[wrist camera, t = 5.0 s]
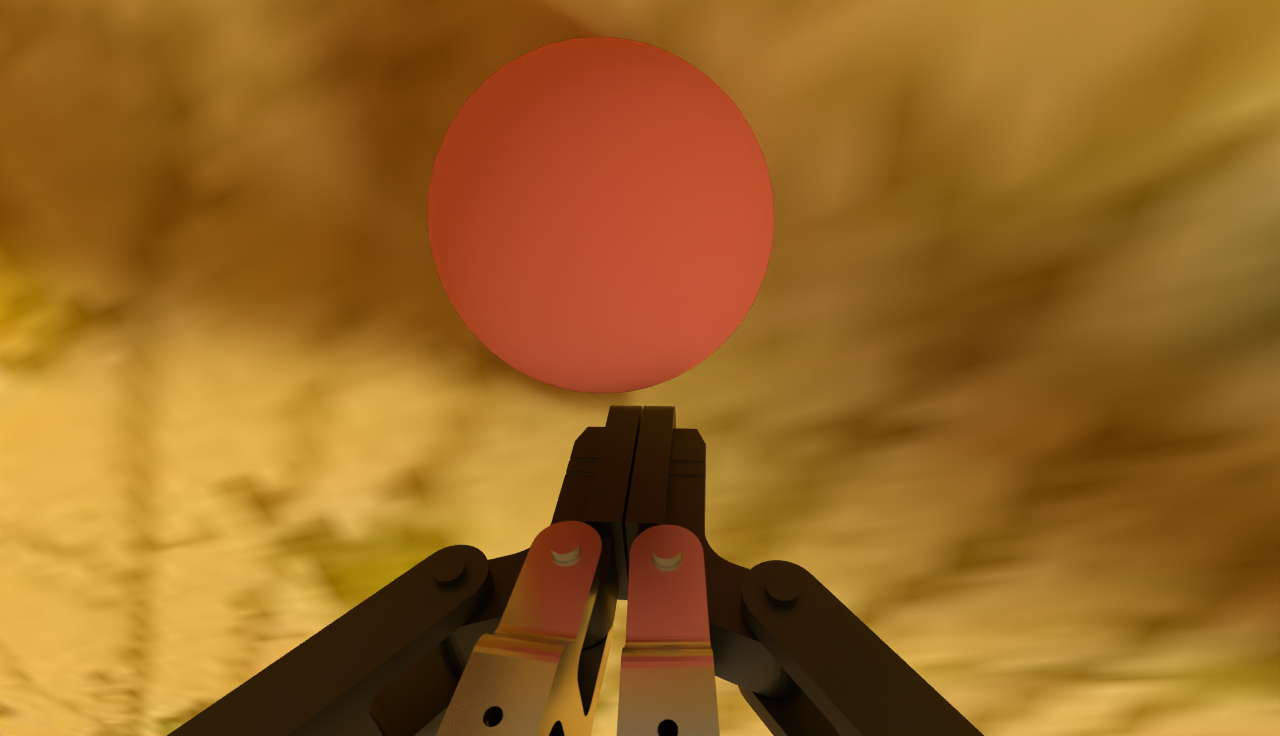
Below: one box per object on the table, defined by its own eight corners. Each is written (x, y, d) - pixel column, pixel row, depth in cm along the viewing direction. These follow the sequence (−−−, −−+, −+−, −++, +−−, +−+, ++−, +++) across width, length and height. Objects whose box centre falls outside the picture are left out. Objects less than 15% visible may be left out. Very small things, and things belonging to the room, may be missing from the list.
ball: (815, 270, 6) (757, -91, 8) (315, 325, 7) (375, -17, 9) (784, 419, 11) (753, 175, 13) (499, 441, 12) (511, 208, 14)
